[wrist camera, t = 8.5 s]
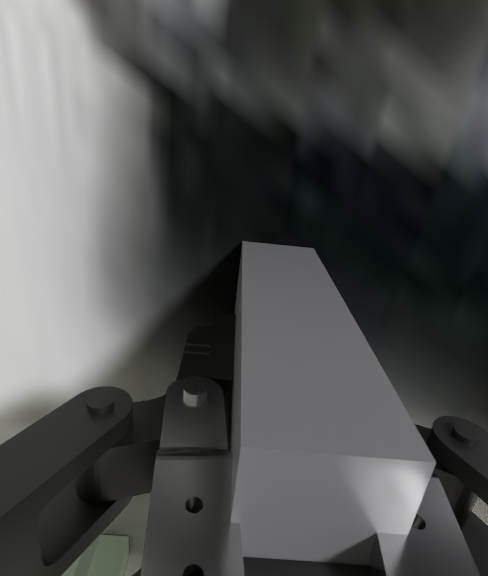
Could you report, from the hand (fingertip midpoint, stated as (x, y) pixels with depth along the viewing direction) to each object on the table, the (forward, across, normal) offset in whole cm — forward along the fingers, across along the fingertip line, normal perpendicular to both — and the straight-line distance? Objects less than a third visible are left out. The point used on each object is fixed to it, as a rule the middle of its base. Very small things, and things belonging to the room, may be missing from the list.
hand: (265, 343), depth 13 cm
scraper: (+1, 0, +5) cm, 5 cm away
